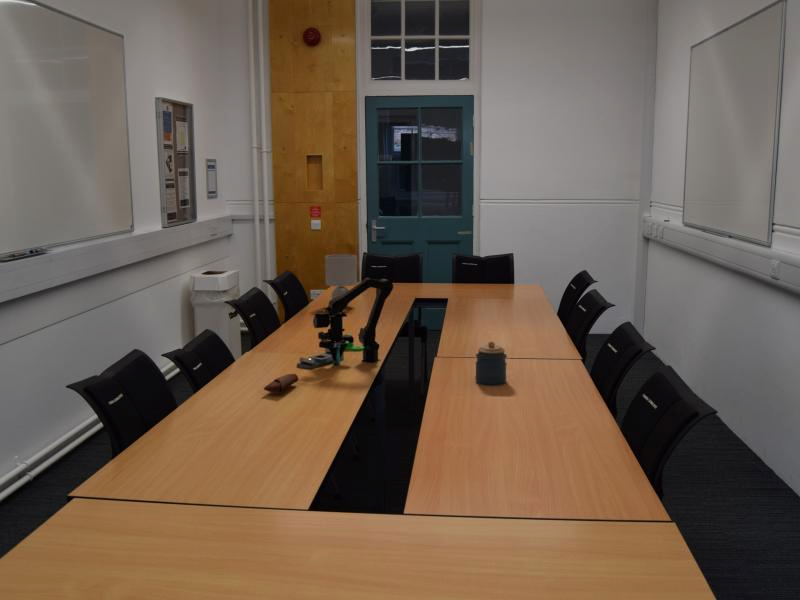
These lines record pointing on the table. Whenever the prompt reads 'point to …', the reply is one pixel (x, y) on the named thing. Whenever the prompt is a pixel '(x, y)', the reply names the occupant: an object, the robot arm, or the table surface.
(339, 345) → the pin
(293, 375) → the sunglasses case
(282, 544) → the table surface
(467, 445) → the table surface
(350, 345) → the mechanical part
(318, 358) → the plate
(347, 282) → the lamp
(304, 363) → the lower chain end
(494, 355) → the canister
